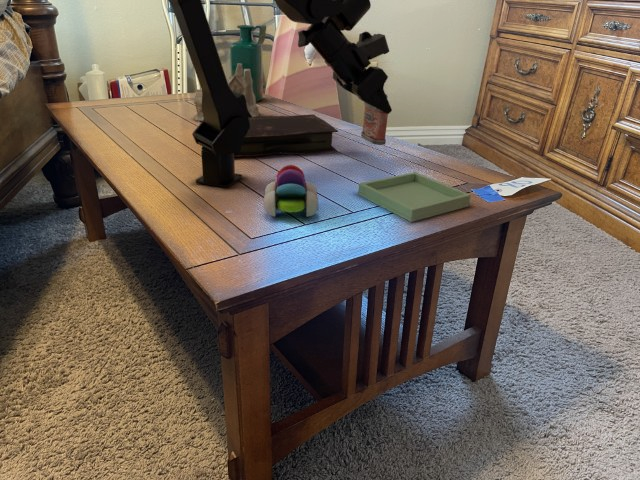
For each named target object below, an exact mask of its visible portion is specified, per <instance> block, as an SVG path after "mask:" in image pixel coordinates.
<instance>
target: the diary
mask: <svg viewBox="0 0 640 480" xmlns="http://www.w3.org/2000/svg"><path fill="white" fill-rule="evenodd" d="M248 118H249V121H250V129H249V130H248V132H247V134H246V136H245V137H244V141H243V144H242V147H241V151H240V152H237V153H234V157H259V156H260V157H261V156H270V155H279V154H281V155H282V154H284V155H285V154H286V155H314V154H315V155H316V154H323V153H333V152H334V153H335V152H336V153H337V152H338V150H337V149H336V148H335V147H334V146H333V134H334V133H339V130H338V129H337V128H336V127H334V126H332V125H331V124H330V123H328V122H327V121H326V120H325V119H322V118H321V117H318V116H317V115H316V114H313V113H311V114H299V115H298V114H297V115H259V116H258V117H251V118H250V117H248Z"/></svg>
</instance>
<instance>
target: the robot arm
mask: <svg viewBox="0 0 640 480" xmlns="http://www.w3.org/2000/svg"><path fill="white" fill-rule="evenodd" d="M273 1H274V3H275V4H276V6H277V8H278V9H279V10H280V11H281V12H282V13H283V14H284V15H285V17H286V18H288V19H289V20H290V21H291V22H294V23H298V24H305V25H309V26H308V27H307V29H302V30H300V31H298V32H297V34H298V41H297V47H298V48H303V47H307V46H309V45H311V46H312V47H313V48H314V49H315V51H316V52H317V54H319V55H320V57H321V58H322V59H323V60H324V63H325V64H326V66H328V67H330V69H331V70H332V79H333V81H334V82H335V83H336V84H337V85H338V86H340V87H341V88H342V89H344V90H345V91H347V92H348V93H350V94H353V95H355V96H356V97H357V98H358V99H359V100H360V101H362V102H363V103H364V102H366V103H368V104H370V105H372V106H373V107H375V108H377V109H379V110H381V111H383V112H385V113H387V114H388V115H389V114H390V113H391V112H392V111H393V109H392V106H391V104H390V101H389V99H388V97H386V95H385V94H386V92H385V90H384V87H385V84H386V82H387V81H388V78H389V76H388V75H387V73H386V72H385V71H384V70H383V68H380V67H378V66H372V65H371V64H372V62H371V60H373V59H375V58H377V57H380V56H382V55H386V54H389V53H390V47H389V44H388V40H387V38H386V35H385V34H382V33H374V34H373V35H372V34H371V33H370V31H363V32H361V33H359V35H358V41H357V42H356V43H355V42H352V41H350V40H349V39H348V38H347V36H346V35H345V34H344V33H343V32H344V31H347V32H349V31H352V30H353V29H354V28H355V26H357V24H358V23H359V22H360V21H361V20H362V18H363V17H364V16H365V15H366V14H367V13H368V12H369V11H370V9H371V5H372V4H371V0H273ZM167 2H169V5H170V6H171V8H172V10H173V14H174V16H175V19H176V22H177V24H178V27H179V30H180V33H181V36H182V38H183V41H184V44H185V48H186V51H187V53H188V55H189V58H190V61H191V63H192V64H191V65H192V67H193V69H194V72H195V75H196V78H197V81H198V83H199V86H200V90H202V112H203V117H204V119H203V121H202V120H201V121H200V123H199V124H198V126H197V127H195V129H194V131H193V132H192V134H191V135H192V137H193V139H194V141H195V144H197V145H199V146H201V151H200V154H201V170H202V171H201V172H202V175H201V176H199V177H198V178H196V179H195V183H196V184H200V185H206V186H213V187H219V188H226V189H227V188H229V187H231V186H232V185H234V184H235V183H237V182H238V181H239V180H241V179H242V178H243V174H241V173H236V168H235V167H236V166H235V165H236V164H235V156H234V153H237V152H240V151H241V147H242V144H243V141H244V137H245V136H246V134H247V132H248V130H249V129H250V121H249V118H248V117H250V118H251V117H252V115H251V114H250V113H249V111H248V109H247V104H246V99H245V96H244V95H243V94H240V93H237V92H234V91H232V90H231V89H230V87H229V85H228V83H229V81H228V79H227V76H226V73H225V70H224V67H223V64H222V61H221V58H220V55H219V51H218V48H217V46H216V43H215V42H216V41H215V38H214V36H213V33H212V30H211V27H210V24H209V20H208V18H207V14H206V12H205V11H206V10H205V9H204V6H203V3H202V0H167ZM370 65H371V66H370Z"/></svg>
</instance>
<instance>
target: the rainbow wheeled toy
mask: <svg viewBox="0 0 640 480" xmlns="http://www.w3.org/2000/svg"><path fill="white" fill-rule="evenodd" d="M277 209H278V210H279V211H281V212H286V213H299V212H302V211H304V210H305V215H306V217H307V218H309V217H311V216H314V215H315V214H316V213H317V212H318V211H319V198H318V188H317V187H316V185H314V184H313V183H312V182H308V181H307V182H306V176H305V173H304V171H303V170H302V169H301V168H300V167H298V166H296V165H294V164H288V165H285V166H282V168H280V170H278V172H277V174H276V181H271V182H270V183H268V184H267V185H266V187H265V189H264V197H263V210H264V212H265V213H266V214H267V215H269V216H271V217H276V216H277Z"/></svg>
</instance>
